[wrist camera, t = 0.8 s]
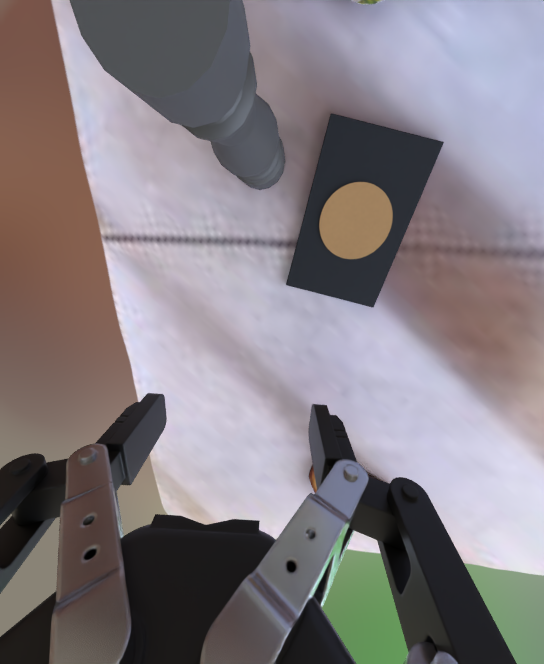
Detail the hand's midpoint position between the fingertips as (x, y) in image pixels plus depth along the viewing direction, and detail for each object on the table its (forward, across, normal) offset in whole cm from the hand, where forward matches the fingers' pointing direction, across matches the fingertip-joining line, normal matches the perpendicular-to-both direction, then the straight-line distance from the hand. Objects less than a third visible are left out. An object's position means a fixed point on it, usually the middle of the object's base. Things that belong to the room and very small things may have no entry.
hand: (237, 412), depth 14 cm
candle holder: (+25, +1, -18) cm, 31 cm away
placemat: (+24, -11, -12) cm, 29 cm away
